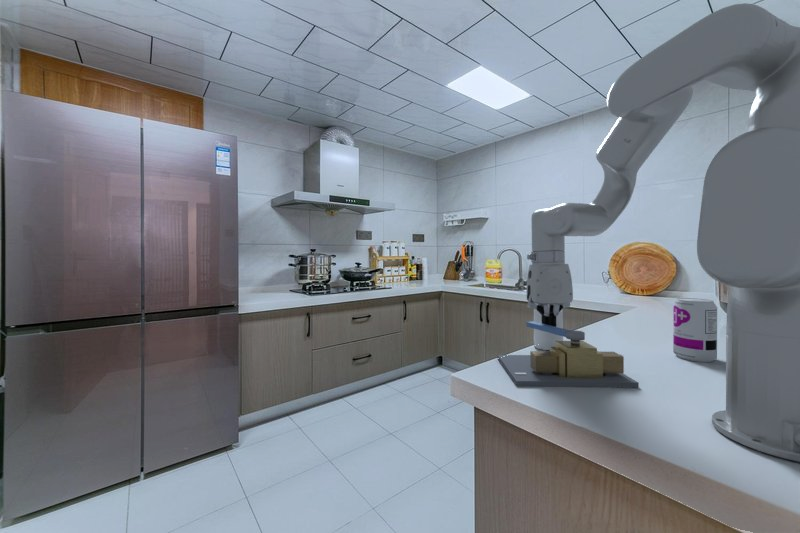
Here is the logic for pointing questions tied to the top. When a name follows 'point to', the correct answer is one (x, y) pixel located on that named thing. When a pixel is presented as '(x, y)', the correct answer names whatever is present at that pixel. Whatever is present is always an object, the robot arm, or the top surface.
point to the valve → (576, 361)
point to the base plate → (556, 376)
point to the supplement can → (695, 329)
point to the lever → (557, 331)
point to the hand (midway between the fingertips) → (548, 330)
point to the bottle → (544, 337)
